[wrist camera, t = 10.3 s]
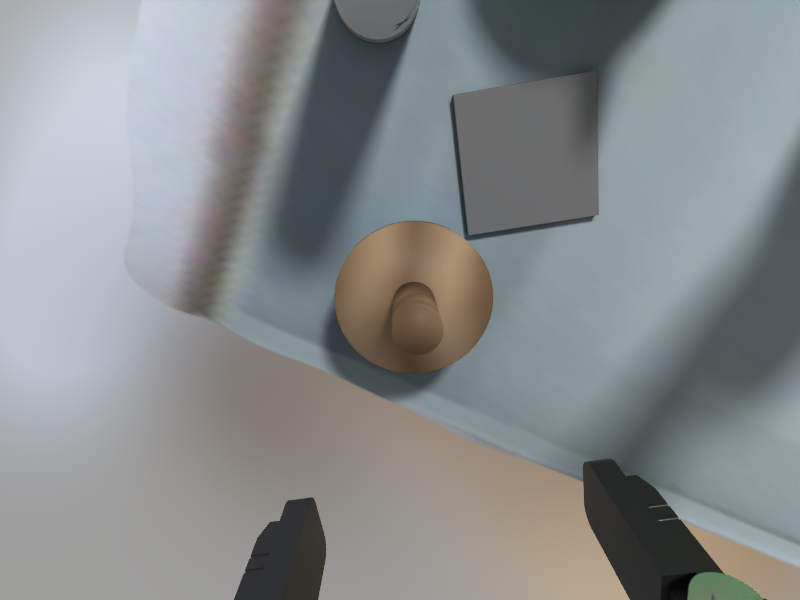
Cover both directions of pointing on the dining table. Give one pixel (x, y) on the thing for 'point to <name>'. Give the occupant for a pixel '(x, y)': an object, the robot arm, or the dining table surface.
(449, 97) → the dining table surface
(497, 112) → the mat
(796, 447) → the dining table surface
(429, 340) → the lid
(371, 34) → the travel mug
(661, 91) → the dining table surface
